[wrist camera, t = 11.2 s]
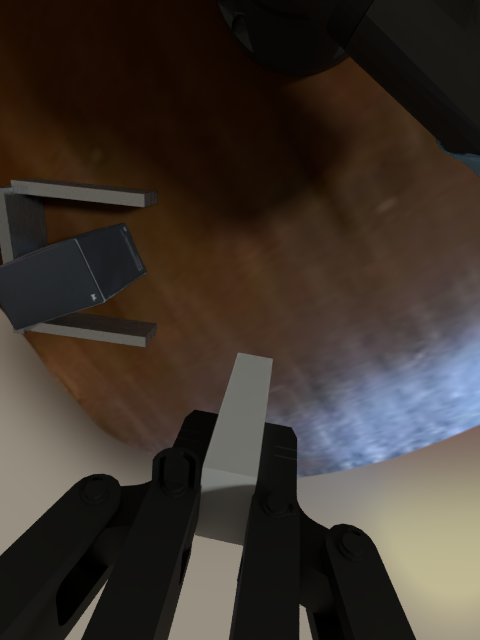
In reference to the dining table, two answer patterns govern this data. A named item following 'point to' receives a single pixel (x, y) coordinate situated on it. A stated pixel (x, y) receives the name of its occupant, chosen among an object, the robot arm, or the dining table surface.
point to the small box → (69, 276)
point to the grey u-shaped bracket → (30, 235)
